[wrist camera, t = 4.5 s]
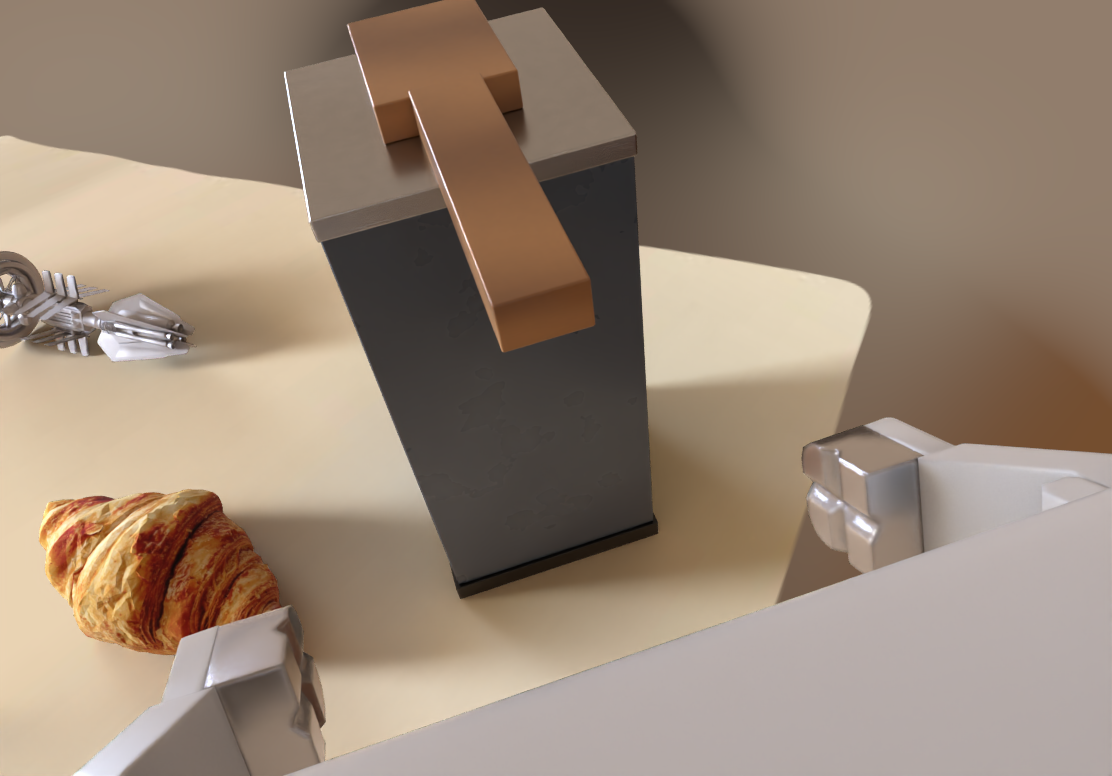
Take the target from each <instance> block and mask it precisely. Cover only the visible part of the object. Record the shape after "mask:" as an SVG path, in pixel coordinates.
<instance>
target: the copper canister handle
mask: <svg viewBox="0 0 1112 776" xmlns="http://www.w3.org/2000/svg"><path fill="white" fill-rule="evenodd" d="M347 26H348V29H349V33H350V36H351V39H352V43H353V46H354V49H355V53H356V56H357V60H358V63H359V66H360V69H361V72H362V75H363V79H364V82H365V85H366V88H367V91H368V94H369V98H370V101H371V104H372V107H373V110H374V114H375V117H376V120H377V123H378V126H379V129H380V133H381V136H382V139H383V142H384V143H385V144H388V143H391V142H395V141H399V140H403V139H407V138H410V137H414V136H418V135H420V137H421V140H422V142H423V145H424V148H425V150H426V153H427V155H428V158H429V161H430V163H431V166H432V169H433V171H434V174H435V177H436V179H437V182H438V185H439V187H440V190H441V192H442V195H443V198H444V200H445V203H446V206H447V208H448V211H449V214H450V216H451V219H452V222H453V224H454V227H455V229H456V232H457V235H458V237H459V240H460V243H461V245H462V248H463V251H464V253H465V256H466V258H467V261H468V264H469V266H470V269H471V272H472V274H473V277H474V280H475V282H476V285H477V288H478V290H479V293H480V295H481V298H482V301H483V303H484V306H485V309H486V311H487V314H488V317H489V319H490V322H491V324H492V327H493V330H494V332H495V335H496V338H497V340H498V343H499V346H500V348H501V351H502V352H508V351H512V350H515V349H518V348H522V347H525V346H528V345H532V344H535V343H538V342H542V341H545V340H548V339H552V338H555V337H559V336H562V335H565V334H569V333H572V332H575V331H579V330H582V329H585V328H589V327H592V326H594V325H595V316H594V307H593V298H592V289H591V280H590V277H589V275H588V273H587V271H586V270H585V268H584V266H583V264H582V262H581V260H580V258H579V257H578V255H577V253H576V251H575V249H574V247H573V245H572V243H571V242H570V240H569V238H568V236H567V234H566V232H565V230H564V229H563V227H562V225H561V223H560V221H559V219H558V217H557V215H556V214H555V212H554V210H553V208H552V206H551V204H550V202H549V201H548V199H547V197H546V195H545V193H544V191H543V189H542V187H541V186H540V184H539V182H538V180H537V178H536V176H535V174H534V172H533V171H532V169H531V167H530V165H529V163H528V161H527V159H526V158H525V156H524V154H523V152H522V150H521V148H520V146H519V144H518V143H517V141H516V139H515V137H514V135H513V133H512V131H511V130H510V128H509V126H508V124H507V122H506V120H505V118H504V116H503V115H502V113H505V112H509V111H513V110H517V109H521V108H523V101H522V95H521V88H520V82H519V76H518V70H517V69H516V67H515V65H514V64H513V62H512V60H511V59H510V57H509V56H508V54H507V52H506V51H505V49H504V47H503V46H502V44H501V42H500V41H499V39H498V37H497V36H496V34H495V33H494V31H493V29H492V28H491V26H490V24H489V23H488V21H487V19H486V18H485V16H484V14H483V13H482V11H481V9H480V8H479V6H478V5H477V3H476V1H475V0H443V1H439V2H435V3H431V4H427V5H423V6H419V7H414V8H410V9H406V10H402V11H398V12H394V13H390V14H386V15H382V16H378V17H374V18H369V19H365V20H361V21H357V22H353V23H349V24H348V25H347Z"/></svg>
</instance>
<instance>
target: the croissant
mask: <svg viewBox="0 0 1112 776" xmlns="http://www.w3.org/2000/svg"><path fill="white" fill-rule="evenodd" d="M39 542H40V544H41V545H42V547H43V548H44V549H45V550H46V551H47V554H46V564H45V572H46V575H47V577H48V579H49V580H50V582H51V584H52V585H53V586H54V588H55V589H56V590H57V591H58V592H59V593H60V595H61V596H62V597H63V598H65V599H67V600H68V603H69V605H70V606H71V607H72V608H73V610H74V617H75V618H76V621H77V624H78V626H79V629H80V630H81V631H82V632H83V633H84V634H85V635H86V636H88V637H91V638H94V639H97V640H100V641H103V642H109V643H117V644H119V645H121V646H122V647H126V648H129V649H132V650H135V651H139V652H149V653H153V654H162V655H174V654H176V652H177V649H178V646H179V642H180V640H181V638H184V637H186V636H189V635H192V634H195V633H197V632H200V631H203V630H206V629H209V628H212V627H215V626H218V625H219V626H222V625H224V624H228V623H231V622H235V621H238V620H241V619H245V618H248V617H252V616H255V615H258V614H262V613H265V612H269V611H272V610H275V609H279V608H282V606H281V605H280V604H279V589H278V584H277V580H276V578H275V576H274V574H273V573H272V572H271V571H270V569H269V568H268V564H263V562H262V559H261V557H260V556H259V555H257V554H256V553H255V552H253V551H254V547H253V545H252V543H251V541H250V539H249V537H248V536H247V534H246V532H245V531H244V530H243V529H242V528H241V527H239V526H238V525H237V524H235V523H234V522H233V521H232V520H230V519H229V518H228V517H226V516H225V515H224V513H223V507H222V503H221V501H220V499H219V497H218V496H217V495H216V494H215V493H213V492H210V491H206V490H191V489H187V490H182V491H180V492H176V493H172V494H168V495H165V494H161V493H154V492H153V493H144V494H141V493H136V494H132V495H129V496H125V497H122V498H118V499H113V498H109V497H105V496H93V497H86V498H83V499H77V500H74V499H66V500H58V501H51V502H49V503H48V504H47V507H46V509H45V512H44V514H43V522H42V525H41V527H40V533H39Z"/></svg>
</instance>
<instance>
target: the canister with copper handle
mask: <svg viewBox="0 0 1112 776" xmlns="http://www.w3.org/2000/svg"><path fill="white" fill-rule="evenodd" d="M488 23H489V24H490V26H491V28H492V29H493V31H494V33H495V34H496V36H497V37H498V39H499V41H500V42H501V44H502V46H503V47H504V49H505V51H506V52H507V54H508V56H509V57H510V59H511V60H512V62H513V64H514V65H515V67H516V69H517V70H518V76H519V82H520V88H521V95H522V101H523V108H521V109H517V110H513V111H509V112H505V113H502V115H503V116H504V118H505V120H506V122H507V124H508V126H509V128H510V130H511V131H512V133H513V135H514V137H515V139H516V141H517V143H518V144H519V146H520V148H521V150H522V152H523V154H524V156H525V158H526V159H527V161H528V163H529V165H530V167H531V169H532V171H533V172H534V174H535V176H536V178H537V180H538V182H539V184H540V186H541V187H542V189H543V191H544V193H545V195H546V197H547V199H548V201H549V202H550V204H551V206H552V208H553V210H554V212H555V214H556V215H557V217H558V219H559V221H560V223H561V225H562V227H563V229H564V230H565V232H566V234H567V236H568V238H569V240H570V242H571V243H572V245H573V247H574V249H575V251H576V253H577V255H578V257H579V258H580V260H581V262H582V264H583V266H584V268H585V270H586V271H587V273H588V275H589V277H590V280H591V289H592V298H593V307H594V316H595V325H594V326H592V327H589V328H585V329H582V330H579V331H575V332H572V333H569V334H565V335H562V336H559V337H555V338H552V339H548V340H545V341H542V342H538V343H535V344H532V345H528V346H525V347H522V348H518V349H515V350H512V351H508V352H502V351H501V348H500V346H499V343H498V340H497V338H496V335H495V332H494V330H493V327H492V324H491V322H490V319H489V317H488V314H487V311H486V309H485V306H484V303H483V301H482V298H481V295H480V293H479V290H478V288H477V285H476V282H475V280H474V277H473V274H472V272H471V269H470V266H469V264H468V261H467V258H466V256H465V253H464V251H463V248H462V245H461V243H460V240H459V237H458V235H457V232H456V229H455V227H454V224H453V222H452V219H451V216H450V214H449V211H448V208H447V206H446V203H445V200H444V198H443V195H442V192H441V190H440V187H439V185H438V182H437V179H436V177H435V174H434V171H433V169H432V166H431V163H430V161H429V158H428V155H427V153H426V150H425V148H424V145H423V142H422V140H421V137H420V135H418V136H414V137H410V138H407V139H403V140H399V141H395V142H391V143H388V144H385V143H384V142H383V139H382V136H381V133H380V129H379V126H378V123H377V120H376V117H375V114H374V110H373V107H372V104H371V101H370V98H369V94H368V91H367V88H366V85H365V82H364V79H363V75H362V72H361V69H360V66H359V63H358V60H357V56H356V54H354V55H350V56H346V57H342V58H338V59H334V60H330V61H327V62H322V63H318V64H314V65H310V66H306V67H302V68H298V69H294V70H290V71H286V72H284V76H285V82H286V88H287V94H288V100H289V106H290V112H291V117H292V124H293V130H294V135H295V141H296V147H297V153H298V159H299V164H300V171H301V177H302V182H303V189H304V195H305V200H306V206H307V212H308V218H309V223H310V225H311V228H312V230H313V233H314V235H315V238H316V240H317V241H318V242H321V244H322V247H323V249H324V252H325V254H326V257H327V259H328V262H329V264H330V267H331V269H332V272H333V274H334V276H335V279H336V281H337V284H338V286H339V289H340V291H341V294H342V296H343V299H344V301H345V304H346V306H347V309H348V311H349V314H350V316H351V319H352V321H353V324H354V326H355V329H356V331H357V334H358V336H359V338H360V341H361V343H362V346H363V348H364V351H365V353H366V356H367V358H368V361H369V363H370V366H371V368H372V371H373V373H374V376H375V378H376V381H377V383H378V386H379V388H380V391H381V393H382V396H383V398H384V401H385V403H386V405H387V408H388V410H389V413H390V415H391V418H392V420H393V423H394V425H395V428H396V430H397V433H398V435H399V438H400V440H401V443H402V445H403V448H404V450H405V453H406V455H407V458H408V460H409V463H410V465H411V467H412V470H413V472H414V475H415V477H416V480H417V482H418V485H419V487H420V490H421V492H422V495H423V497H424V500H425V502H426V505H427V507H428V510H429V512H430V515H431V517H432V520H433V522H434V525H435V527H436V529H437V532H438V534H439V537H440V539H441V542H442V544H443V547H444V549H445V552H446V554H447V557H448V559H449V562H450V566H451V570H452V574H453V578H454V582H455V586H456V590H457V592H458V595H459V597H460V599H462V598H465V597H468V596H471V595H474V594H477V593H480V592H483V591H486V590H489V589H492V588H495V587H498V586H501V585H504V584H507V583H510V582H513V581H516V580H519V579H522V578H525V577H529V576H532V575H535V574H538V573H541V572H544V571H547V570H550V569H553V568H556V567H559V566H562V565H565V564H568V563H571V562H574V561H577V560H580V559H583V558H586V557H589V556H592V555H595V554H598V553H601V552H604V551H607V550H610V549H613V548H616V547H619V546H622V545H625V544H628V543H631V542H634V541H637V540H640V539H643V538H646V537H649V536H652V535H655V534H658V522H657V520H656V518H655V515H654V513H653V507H652V488H651V469H650V450H649V431H648V412H647V393H646V374H645V355H644V336H643V316H642V297H641V278H640V259H639V241H638V222H637V202H636V184H635V166H634V156H636V155H637V137H636V132H635V131H634V129H633V128H632V127H631V125H630V124H629V123H628V122H627V120H626V118H625V117H624V116H623V114H622V113H621V112H620V110H619V109H618V108H617V106H616V105H615V104H614V102H613V101H612V100H611V99H610V97H609V96H608V94H607V93H606V92H605V90H604V89H603V88H602V86H601V85H600V84H599V82H598V81H597V79H596V78H595V77H594V76H593V74H592V73H591V71H590V70H589V69H588V68H587V66H586V65H585V63H584V62H583V61H582V59H581V58H580V57H579V55H578V54H577V53H576V51H575V50H574V49H573V47H572V46H571V44H570V43H569V42H568V40H567V39H566V38H565V36H564V35H563V34H562V32H561V31H560V30H559V28H558V27H557V26H556V24H555V23H554V22H553V20H552V19H551V18H550V16H549V15H548V14H547V12H546V11H545V10H544V8H539V9H535V10H531V11H527V12H523V13H519V14H515V15H511V16H507V17H503V18H499V19H495V20H491V21H488Z"/></svg>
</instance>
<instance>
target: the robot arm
mask: <svg viewBox="0 0 1112 776" xmlns="http://www.w3.org/2000/svg"><path fill="white" fill-rule="evenodd" d="M802 468H803V473H804V474H805V475H806V476H807V477H808V478H810V479H811V480H812V481H813V483H812V485H811V488H810V490H809V492H808V494H807V496H806V501H807V507H808V513H809V518H810V520H811V522H812V525H813V527H814V529H815V532H816V533H817V535H818V536H819V537H820V539H821V540H822V541H823V542H824V543H825V544H826V545H827V546H828V547H830V548H831V549H832V550H836V551H841V552H846V553H848V558H849V563H850V564H851V565H853V566H854V567H855V568H856V569H858V570H859V571H860V572H862V573H863V574H862V575H859V576H856V577H853V578H850V579H847V580H845V581H842V582H839V583H836V584H833V585H830V586H827V587H824V588H822V589H819V590H816V591H813V592H810V593H807V594H805V595H801V596H799V597H796V598H793V599H790V600H787V601H784V602H781V603H778V604H776V605H773V606H770V607H767V608H764V609H761V610H758V611H755V612H753V613H750V614H747V615H744V616H741V617H738V618H735V619H732V620H730V621H727V622H724V623H721V624H718V625H715V626H712V627H709V628H706V629H704V630H701V631H698V632H695V633H692V634H689V635H686V636H683V637H681V638H678V639H675V640H672V641H669V642H666V643H663V644H660V645H658V646H655V647H652V648H649V649H646V650H643V651H640V652H637V653H635V654H632V655H629V656H626V657H623V658H620V659H617V660H614V661H612V662H609V663H606V664H603V665H600V666H597V667H594V668H591V669H589V670H586V671H583V672H580V673H577V674H574V675H571V676H568V677H566V678H563V679H560V680H557V681H554V682H551V683H548V684H545V685H543V686H540V687H537V688H534V689H531V690H528V691H525V692H522V693H520V694H517V695H514V696H511V697H508V698H505V699H502V700H499V701H497V702H494V703H491V704H488V705H485V706H482V707H479V708H476V709H474V710H471V711H468V712H465V713H462V714H459V715H456V716H453V717H451V718H448V719H445V720H442V721H439V722H436V723H433V724H430V725H428V726H425V727H422V728H419V729H416V730H413V731H410V732H407V733H405V734H402V735H399V736H396V737H393V738H390V739H387V740H384V741H382V742H379V743H376V744H373V745H370V746H367V747H364V748H361V749H359V750H356V751H353V752H350V753H347V754H344V755H341V756H339V757H336V758H333V759H330V760H327V761H325V740H324V738H323V735H322V732H321V729H320V728H321V727H322V726H323V725H324V723H325V722H326V714H325V702H324V696H323V689H322V685H321V682H320V678H319V674H318V671H317V668H316V665H315V662H314V659H313V657H311V656H310V655H308V654H307V653H305V652H303V638H304V631H303V628H302V625H301V623H300V620H299V617H298V615H297V612H296V610H295V609H294V608H293V606H292V605H289V606H286V607H282V608H279V609H275V610H272V611H269V612H265V613H262V614H258V615H255V616H252V617H248V618H245V619H241V620H238V621H235V622H231V623H228V624H224V625H222V626H219V625H218V626H215V627H212V628H209V629H206V630H203V631H200V632H197V633H195V634H192V635H189V636H186V637H184V638H181V640H180V642H179V646H178V649H177V652H176V655H175V658H174V661H173V665H172V668H171V671H170V674H169V677H168V681H167V684H166V687H165V690H164V693H163V696H162V700H161V703H160V704H157V705H154V706H151V707H149V708H148V709H147V710H145V711H144V712H143V713H142V714H141V715H140V716H139V717H138V718H136V719H135V720H134V721H133V722H132V723H131V724H130V725H129V726H127V727H126V728H125V729H124V730H123V731H122V732H121V733H120V734H118V735H117V736H116V737H115V738H114V739H113V740H112V741H111V742H110V743H108V744H107V745H106V746H105V747H104V748H103V749H102V750H101V751H99V752H98V753H97V754H96V755H95V756H94V757H93V758H92V759H90V760H89V761H88V762H87V763H86V764H85V765H84V766H83V767H81V768H80V769H79V770H78V771H77V772H76V773H75V774H74V775H72V776H1112V454H1107V453H1092V452H1078V451H1065V450H1064V451H1063V450H1050V449H1037V448H1023V447H1009V446H1008V447H1007V446H994V445H980V444H967V443H966V444H965V443H963V444H960V445H957V446H954V445H952V444H950V443H948V442H946V441H943V440H941V439H939V438H937V437H935V436H932V435H930V434H928V433H926V432H924V431H921V430H919V429H917V428H915V427H913V426H910V425H908V424H906V423H904V422H902V421H900V420H897V419H895V418H893V417H891V418H883V419H880V420H877V421H875V422H872V423H869V424H867V425H862V426H859V427H856V428H853V429H850V430H847V431H844V432H841V433H838V434H835V435H832V436H829V437H826V438H823V439H820V440H817V441H815V442H812V443H809V444H808V445H806V446H804V447H803V451H802Z"/></svg>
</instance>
